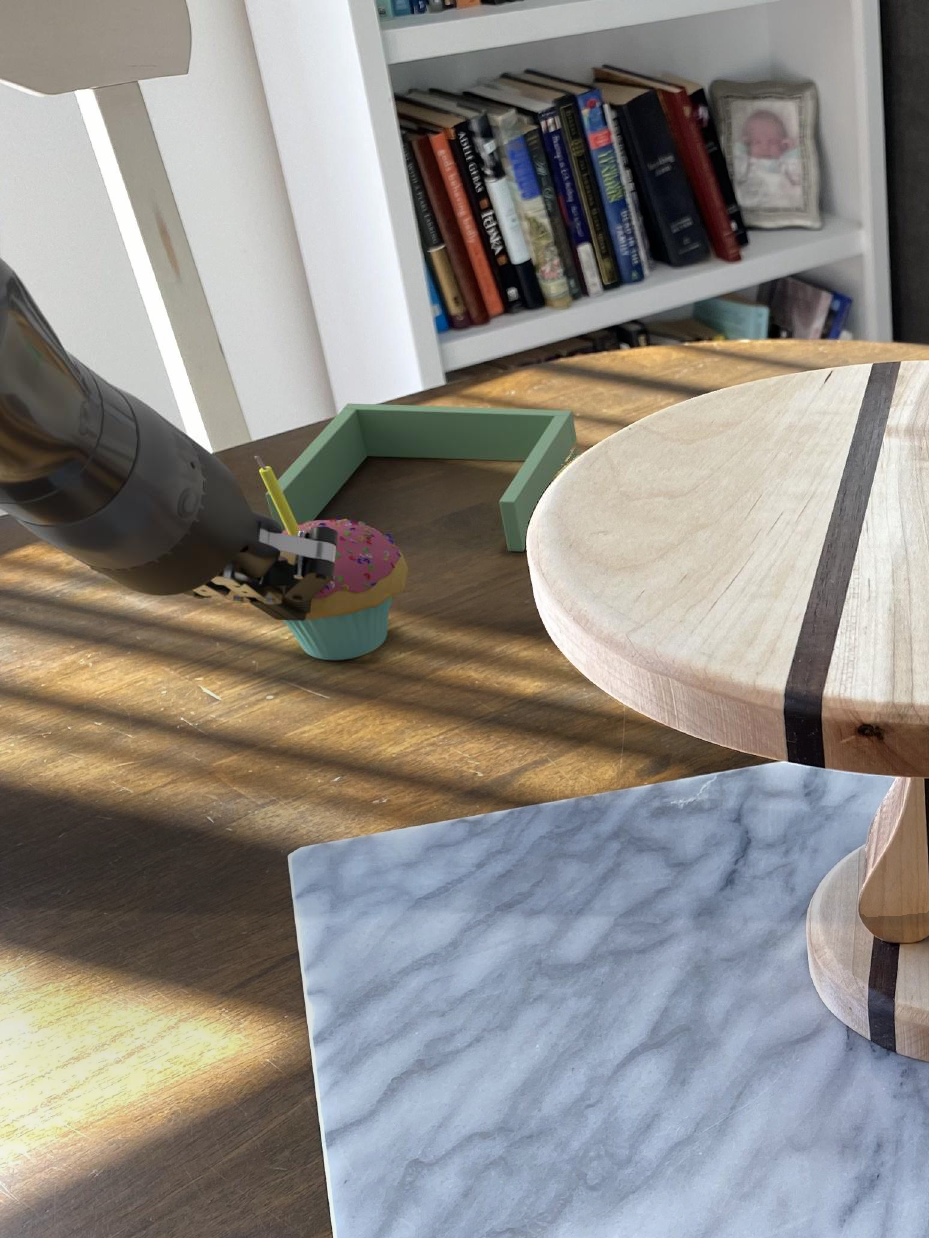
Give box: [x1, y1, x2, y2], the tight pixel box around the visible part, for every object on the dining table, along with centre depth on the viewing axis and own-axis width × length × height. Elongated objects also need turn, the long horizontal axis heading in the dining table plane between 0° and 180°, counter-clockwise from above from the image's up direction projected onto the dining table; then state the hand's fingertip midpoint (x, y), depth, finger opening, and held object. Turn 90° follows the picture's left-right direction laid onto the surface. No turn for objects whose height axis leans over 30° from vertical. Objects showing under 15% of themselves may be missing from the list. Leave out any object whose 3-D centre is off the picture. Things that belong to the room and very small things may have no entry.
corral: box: [265, 402, 580, 553], centre depth 114 cm, size 15×16×4 cm
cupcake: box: [254, 455, 409, 661], centre depth 96 cm, size 9×8×12 cm
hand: (294, 603), depth 93 cm, fingers closed
